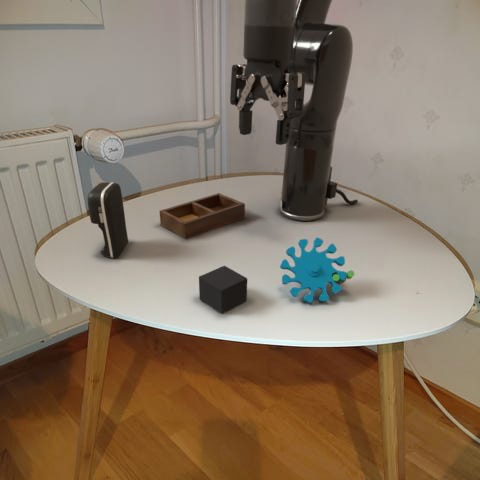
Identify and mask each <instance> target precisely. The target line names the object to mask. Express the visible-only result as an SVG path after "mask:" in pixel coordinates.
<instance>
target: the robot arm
mask: <svg viewBox="0 0 480 480" xmlns="http://www.w3.org/2000/svg"><path fill="white" fill-rule="evenodd" d="M332 3H333V0H244V21H243V23H244V24H243V59H245V60H246V64H245V63H238V64H237V63H236V64H232V66H231V75H230V93H229V94H230V96H229V103H230V105H232V106H235V107H236V108H237V110H238V129H239V134H240V135H242V136H246V135H247V136H248V135H250V134H251V133H252V131H253V130H252V129H253V128H252V127H253V110H251V109H252V108H253V106H254V105H255V103H256V101H258V100H259V99H261V100H263V101H265V102H269V103H270V106H271V107H272V108H273V109H274V111H275V113H276V116H277V118H278V119H277V120H276V121H277V122H276V130H275V131H276V133H275V144H276V145H278V146H283V145H285V151H284V152H285V153H284V164H283V175H282V177H283V178H282V185H281V186H282V188H281V197H280V198H279V213H280V214H281V215H282V216H283V217H285V218H287V219H291V220H295V221H300V222H301V221H302V222H310V221H311V222H312V221H316V220H320V219H322V218H323V217H324V214H325V213H326V212H327V205H328V201H329V200H332V199H334V198H336V194H338V195H340V196H341V198H342V199H343V201H344V202H345V203H346V204H348V205H354V204H357V203H358V202H359V201H358V199H353V200H350V199H348V197H347V195H346V194H345V193H344V192H343V191H342V190H341V189H339V188H338V182H335V181H332V180H331V179H332V174H333V167H332V159H333V152H334V145H335V140H336V139H335V138H336V132H337V125H338V120H339V118H340V115H341V112H342V110H343V107H344V102H345V98H346V97H345V96H346V91H347V86H348V82H349V77H350V72H351V66H352V62H353V53H354V42H353V37H352V33H351V30H349V28H348V27H346V26H345V25H342V24H335V23H326V21H327V17H328V13H329V11H330V8H331V5H332ZM306 86H312V89H311V94H310V98H309V99H308V101H306V102H305V88H306ZM304 102H305V103H304Z"/></svg>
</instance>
